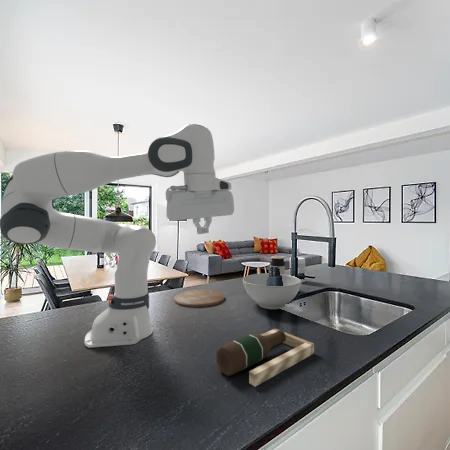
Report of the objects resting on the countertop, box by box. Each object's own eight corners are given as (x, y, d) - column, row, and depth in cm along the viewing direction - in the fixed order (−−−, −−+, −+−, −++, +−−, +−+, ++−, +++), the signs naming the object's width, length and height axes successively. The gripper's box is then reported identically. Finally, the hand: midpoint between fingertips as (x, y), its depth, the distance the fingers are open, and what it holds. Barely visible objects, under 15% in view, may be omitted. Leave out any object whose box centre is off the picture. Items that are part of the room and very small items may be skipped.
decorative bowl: (257, 294, 150) (257, 271, 150) (308, 301, 136) (308, 276, 136) (232, 308, 127) (232, 281, 127) (290, 319, 113) (290, 289, 113)
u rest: (255, 386, 69) (254, 374, 69) (217, 362, 81) (216, 352, 80) (313, 353, 85) (313, 343, 85) (275, 337, 97) (275, 328, 97)
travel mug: (286, 290, 157) (286, 257, 156) (271, 290, 157) (271, 257, 157) (283, 286, 165) (283, 255, 164) (269, 286, 165) (269, 255, 165)
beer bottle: (237, 361, 70) (295, 334, 86) (219, 339, 76) (277, 318, 91) (229, 383, 73) (287, 353, 88) (212, 361, 78) (270, 337, 94)
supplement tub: (308, 281, 177) (308, 257, 177) (300, 283, 171) (300, 259, 170) (294, 278, 184) (294, 256, 184) (286, 281, 178) (286, 258, 177)
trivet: (233, 303, 136) (233, 299, 136) (183, 311, 125) (183, 307, 125) (212, 290, 158) (212, 287, 158) (168, 297, 147) (168, 293, 147)
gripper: (169, 185, 71) (173, 239, 73) (236, 183, 82) (237, 230, 84) (160, 186, 77) (164, 236, 78) (224, 184, 88) (226, 228, 89)
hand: (203, 233), depth 81 cm, fingers closed
